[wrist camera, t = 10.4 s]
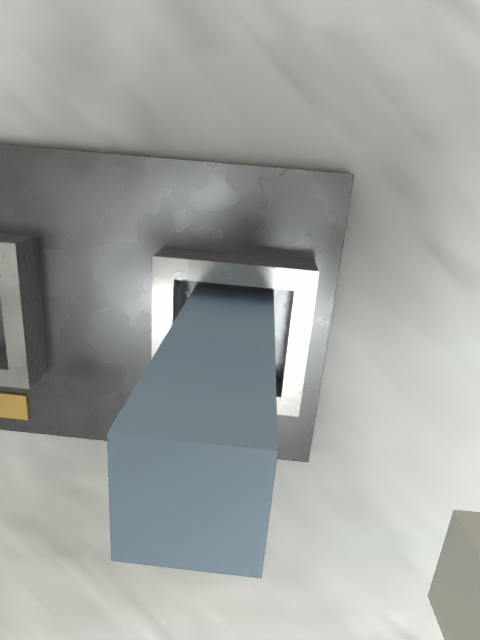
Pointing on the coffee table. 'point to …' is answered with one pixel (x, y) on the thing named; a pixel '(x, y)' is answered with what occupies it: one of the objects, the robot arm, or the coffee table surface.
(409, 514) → the coffee table surface
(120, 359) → the panel
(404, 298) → the coffee table surface
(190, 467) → the plug
